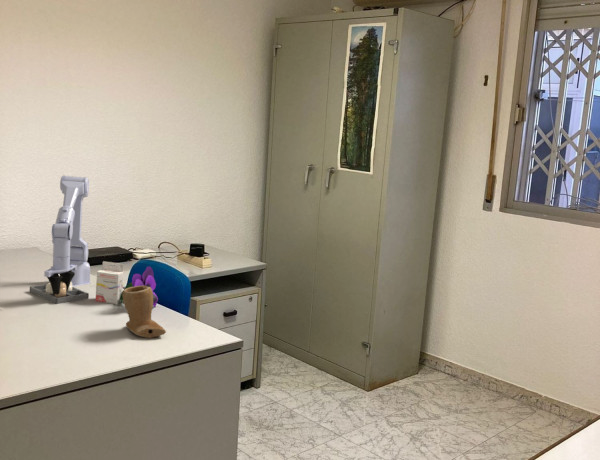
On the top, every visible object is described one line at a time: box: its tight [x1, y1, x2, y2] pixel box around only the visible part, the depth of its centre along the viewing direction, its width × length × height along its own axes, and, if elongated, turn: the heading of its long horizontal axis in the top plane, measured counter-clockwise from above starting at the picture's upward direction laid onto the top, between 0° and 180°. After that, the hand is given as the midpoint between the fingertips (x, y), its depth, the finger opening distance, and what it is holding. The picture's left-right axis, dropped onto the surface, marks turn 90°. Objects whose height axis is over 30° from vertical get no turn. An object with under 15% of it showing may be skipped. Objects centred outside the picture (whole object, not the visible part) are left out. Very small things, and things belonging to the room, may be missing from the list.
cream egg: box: [46, 281, 53, 294], centre depth 240 cm, size 4×4×6 cm
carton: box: [29, 283, 90, 305], centre depth 243 cm, size 13×19×2 cm
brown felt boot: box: [122, 286, 167, 339], centre depth 211 cm, size 15×12×15 cm
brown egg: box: [54, 282, 66, 298], centre depth 236 cm, size 4×4×6 cm
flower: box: [120, 266, 159, 308], centre depth 239 cm, size 15×15×14 cm
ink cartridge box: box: [95, 260, 124, 306], centre depth 241 cm, size 9×5×15 cm, turn 82°
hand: (60, 292), depth 236 cm, fingers closed on brown egg, 4 cm apart
